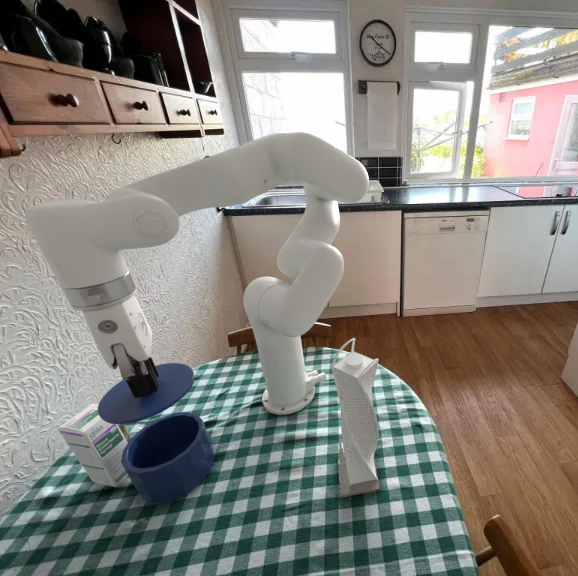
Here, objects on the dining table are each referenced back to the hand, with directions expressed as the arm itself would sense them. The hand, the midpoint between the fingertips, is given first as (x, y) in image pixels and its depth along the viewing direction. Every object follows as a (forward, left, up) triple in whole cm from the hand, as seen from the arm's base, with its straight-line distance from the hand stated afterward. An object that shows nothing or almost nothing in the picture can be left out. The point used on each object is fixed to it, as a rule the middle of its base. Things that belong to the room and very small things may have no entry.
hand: (147, 385), depth 53 cm
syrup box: (+11, -5, -21) cm, 24 cm away
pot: (+1, +1, -20) cm, 20 cm away
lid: (0, 0, -1) cm, 1 cm away
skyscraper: (-29, +20, -21) cm, 41 cm away
